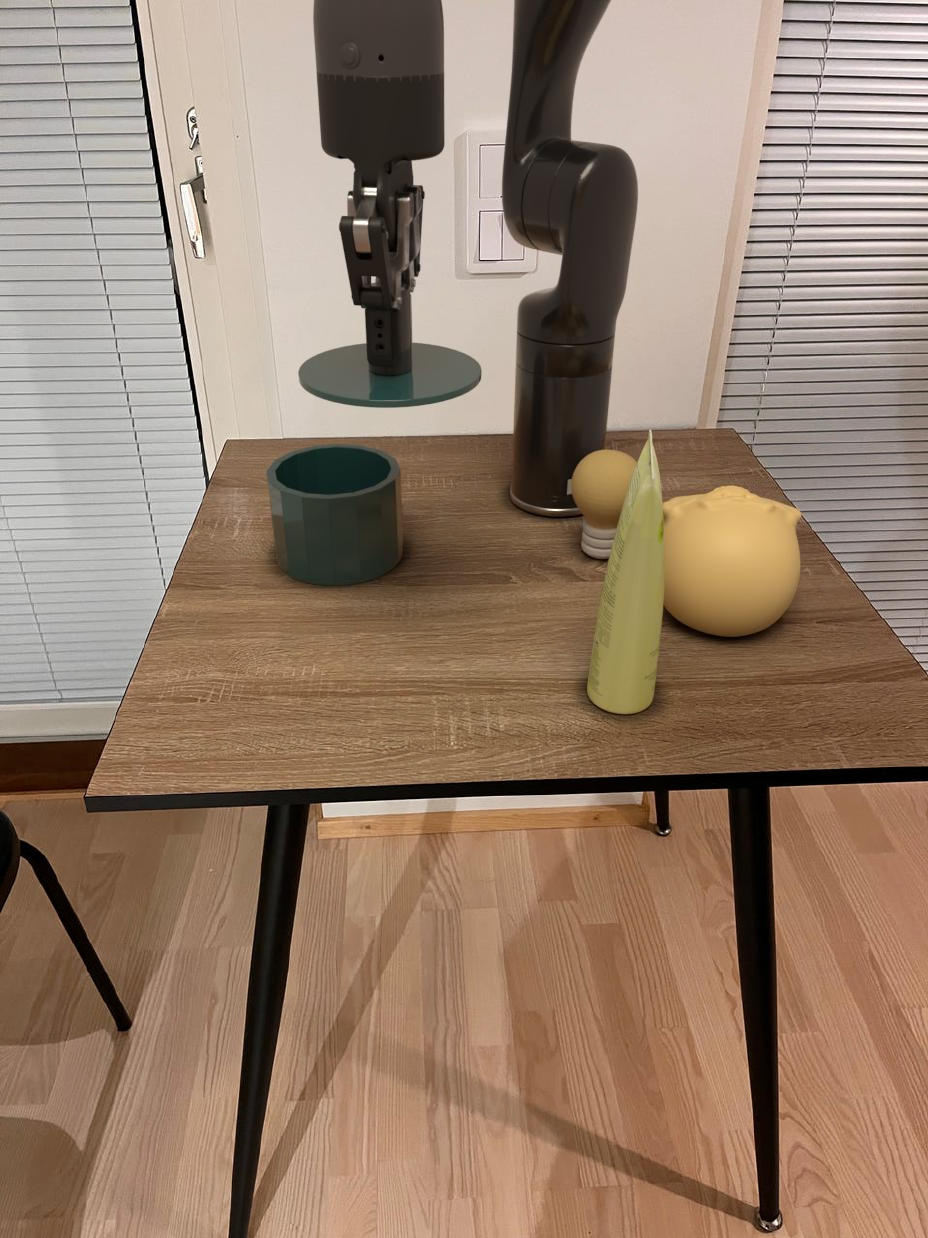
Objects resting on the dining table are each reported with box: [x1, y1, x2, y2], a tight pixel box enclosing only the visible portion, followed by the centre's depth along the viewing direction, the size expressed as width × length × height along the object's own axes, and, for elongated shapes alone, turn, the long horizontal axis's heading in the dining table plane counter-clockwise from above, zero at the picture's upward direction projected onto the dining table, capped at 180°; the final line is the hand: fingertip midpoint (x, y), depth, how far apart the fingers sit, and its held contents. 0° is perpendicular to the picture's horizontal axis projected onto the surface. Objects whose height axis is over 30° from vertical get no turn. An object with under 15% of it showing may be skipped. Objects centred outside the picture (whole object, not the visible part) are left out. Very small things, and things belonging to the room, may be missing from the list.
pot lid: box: [297, 282, 483, 409], centre depth 65 cm, size 13×13×7 cm
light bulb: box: [571, 449, 638, 560], centre depth 87 cm, size 6×6×10 cm
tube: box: [586, 428, 665, 715], centre depth 65 cm, size 6×5×20 cm
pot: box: [265, 443, 404, 587], centre depth 87 cm, size 12×12×8 cm
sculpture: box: [662, 485, 802, 638], centre depth 78 cm, size 12×12×11 cm
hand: (390, 355), depth 65 cm, fingers closed on pot lid, 3 cm apart
